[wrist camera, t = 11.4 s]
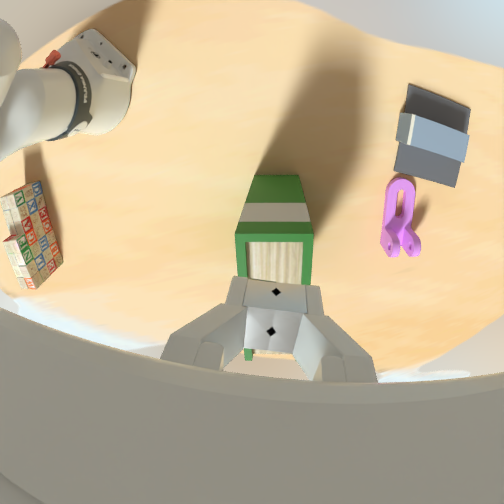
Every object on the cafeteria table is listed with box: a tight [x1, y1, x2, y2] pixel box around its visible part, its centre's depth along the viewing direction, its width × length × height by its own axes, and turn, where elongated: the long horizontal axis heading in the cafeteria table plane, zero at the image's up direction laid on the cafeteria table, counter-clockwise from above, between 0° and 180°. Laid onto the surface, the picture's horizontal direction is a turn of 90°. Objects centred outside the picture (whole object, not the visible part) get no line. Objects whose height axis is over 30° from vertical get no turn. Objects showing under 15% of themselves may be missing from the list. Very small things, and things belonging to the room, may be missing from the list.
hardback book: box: [235, 175, 314, 361], centre depth 42 cm, size 18×7×24 cm, turn 2°
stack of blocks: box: [0, 181, 63, 289], centre depth 52 cm, size 21×6×12 cm, turn 4°
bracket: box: [380, 177, 421, 257], centre depth 47 cm, size 13×6×7 cm, turn 4°
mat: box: [394, 85, 471, 188], centre depth 42 cm, size 14×16×1 cm
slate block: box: [396, 113, 469, 163], centre depth 40 cm, size 5×5×12 cm
